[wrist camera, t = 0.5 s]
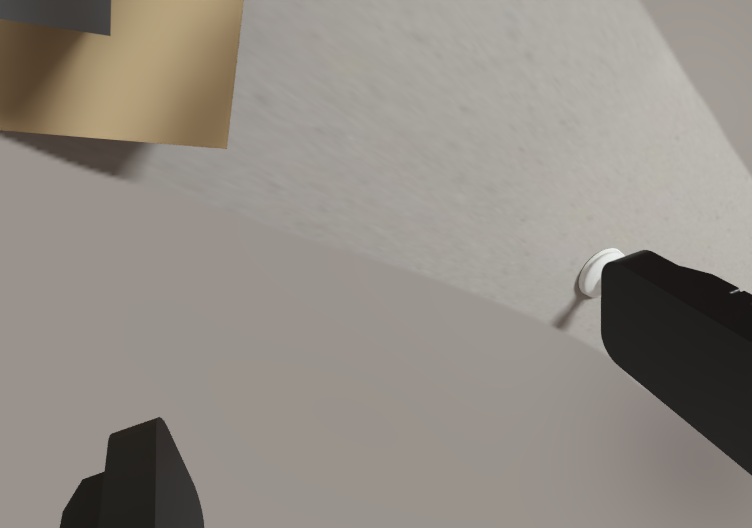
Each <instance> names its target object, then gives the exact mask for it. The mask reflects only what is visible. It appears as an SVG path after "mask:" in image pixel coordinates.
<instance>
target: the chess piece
mask: <svg viewBox="0 0 752 528" xmlns="http://www.w3.org/2000/svg"><path fill="white" fill-rule="evenodd" d="M622 257H625V256H624V255H623V254H622V253H621V252H620V251H619V250H618V249H615V248H609V249H605V250H602V251H600V252H599V253H597V254H596V255H594V256H593V257H592V258H591V259H590V260H589V261H588V262H587V263H586V265H585V266H584V268H583V269H582V271H581V274H580V277H579V288H580V290H581V292H582V293H584V294H586V295H587V296H589V297H592V298H598V297H601V272H602V269H603V267H604V265H605V264H606V263H608V262H610V261H613V260H616V259H619V258H622Z"/></svg>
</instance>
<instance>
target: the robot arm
mask: <svg viewBox="0 0 752 528" xmlns="http://www.w3.org/2000/svg"><path fill="white" fill-rule="evenodd" d="M601 336H602V340H603V343H604V346H605V348H606V350H607V352H608V354H609V356H610V357H611V358H612V360H613V361H614V362H615V363H616V364H617V365H618V366H619V367H621V368H622V369H623V370H624V371H626V372H627V373H628V374H629V375H630V376H632V377H633V378H634V379H635V380H636V381H638V382H639V383H640V384H641V385H643V386H644V387H645V388H646V389H647V390H649V391H650V392H651V393H652V394H653V395H655V396H656V397H657V398H658V399H660V400H661V401H662V402H663V403H664V404H666V405H667V406H668V407H669V408H670V409H672V410H673V411H674V412H675V413H677V414H678V415H679V416H680V417H681V418H683V419H684V420H685V421H686V422H688V423H689V424H690V425H691V426H692V427H694V428H695V429H696V430H697V431H698V432H700V433H701V434H702V435H703V436H705V437H706V438H707V439H708V440H710V441H711V442H712V443H713V444H714V445H715V446H717V447H718V448H719V449H720V450H722V451H723V452H724V453H725V454H726V455H728V456H729V457H730V458H731V459H732V460H734V461H735V462H736V463H737V464H739V465H740V466H741V467H742V468H744V469H745V470H746V471H747V472H749V473H750V474H751V475H752V295H751V294H750V293H748V292H746V291H742V292H740V290H739V288H738V287H736V286H734V285H732V284H730V283H728V282H726V281H724V280H722V279H720V278H719V277H717V276H715V275H713V274H709V273H705V272H702V271H698V270H694V269H690V268H686V267H682V266H678V265H676V264H674V263H673V262H671V261H669V260H667V259H665V258H663V257H661V256H659V255H658V254H656V253H654V252H652V251H649V250H642V251H639V252H636V253H633V254H630V255H628V256H625V257H622V258H619V259H616V260H613V261H610V262H608V263H606V264H605V265H604V267H603V269H602V272H601ZM60 528H204V520H203V514H202V509H201V505H200V501H199V498H198V494H197V491H196V489H195V486H194V483H193V481H192V479H191V477H190V475H189V473H188V470H187V468H186V466H185V464H184V462H183V460H182V457H181V455H180V453H179V451H178V449H177V447H176V445H175V442H174V440H173V438H172V436H171V434H170V432H169V429H168V427H167V425H166V424H165V422H164V421H163V420H162V418H160V417H158V418H156V419H153V420H150V421H147V422H144V423H141V424H138V425H135V426H132V427H130V428H127V429H124V430H121V431H118V432H115V433H112V434H111V435H110V437H109V440H108V448H107V456H106V466H105V472H102V473H99V474H97V475H94V476H91V477H89V478H85V479H83V480H82V481H81V483H80V485H79V486H78V488H77V489H76V491H75V493H74V494H73V496H72V498H71V499H70V501H69V503H68V504H67V506H66V507H65V509H64V511H63V514H62V519H61V524H60Z"/></svg>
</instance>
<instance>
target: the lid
mask: <svg viewBox="0 0 752 528" xmlns="http://www.w3.org/2000/svg"><path fill="white" fill-rule="evenodd" d="M243 2H244V0H0V130H3V131H15V132H27V133H39V134H52V135H64V136H76V137H88V138H100V139H112V140H125V141H137V142H149V143H161V144H173V145H185V146H198V147H210V148H222V149H227V142H228V133H229V125H230V116H231V107H232V98H233V90H234V81H235V72H236V63H237V55H238V46H239V37H240V28H241V20H242V11H243Z"/></svg>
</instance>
